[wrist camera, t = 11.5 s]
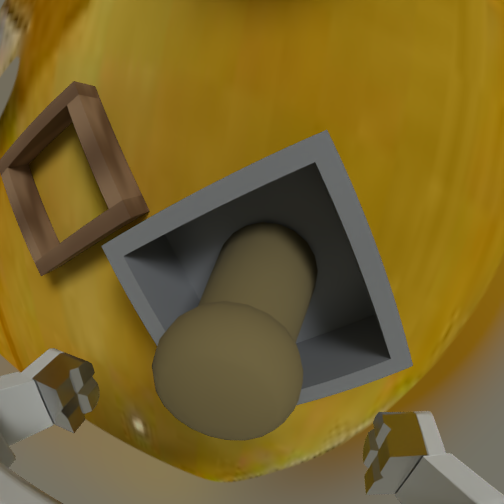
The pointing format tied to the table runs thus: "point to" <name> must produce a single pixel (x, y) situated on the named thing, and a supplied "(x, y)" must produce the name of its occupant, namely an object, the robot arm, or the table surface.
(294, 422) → the table surface
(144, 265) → the bin
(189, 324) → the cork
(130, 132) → the table surface
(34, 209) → the socket collar
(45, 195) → the table surface
